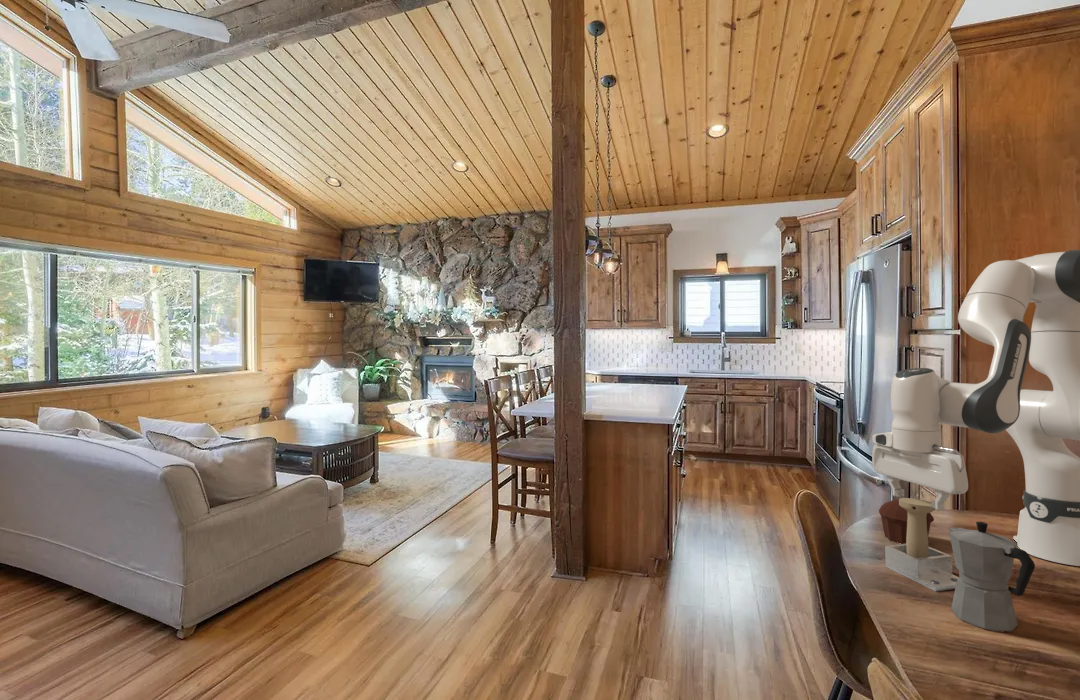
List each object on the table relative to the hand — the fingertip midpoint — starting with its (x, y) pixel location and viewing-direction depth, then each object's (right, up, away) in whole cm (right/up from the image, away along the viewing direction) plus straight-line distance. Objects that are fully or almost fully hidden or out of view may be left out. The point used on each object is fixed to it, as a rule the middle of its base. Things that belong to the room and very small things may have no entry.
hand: (917, 502), depth 112 cm
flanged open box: (+1, -16, -2) cm, 16 cm away
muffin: (+11, -16, +18) cm, 26 cm away
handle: (0, -15, 0) cm, 15 cm away
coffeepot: (-2, -16, -20) cm, 26 cm away
